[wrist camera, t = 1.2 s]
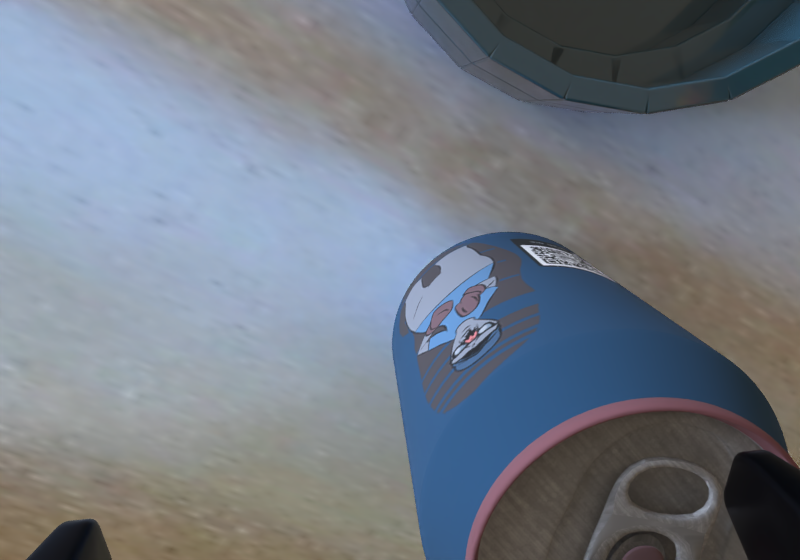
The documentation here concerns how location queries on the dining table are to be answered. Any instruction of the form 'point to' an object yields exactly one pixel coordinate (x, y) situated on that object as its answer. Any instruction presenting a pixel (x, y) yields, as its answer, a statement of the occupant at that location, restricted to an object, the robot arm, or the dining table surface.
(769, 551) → the robot arm
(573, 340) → the soda can
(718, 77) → the bowl
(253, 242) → the dining table surface
